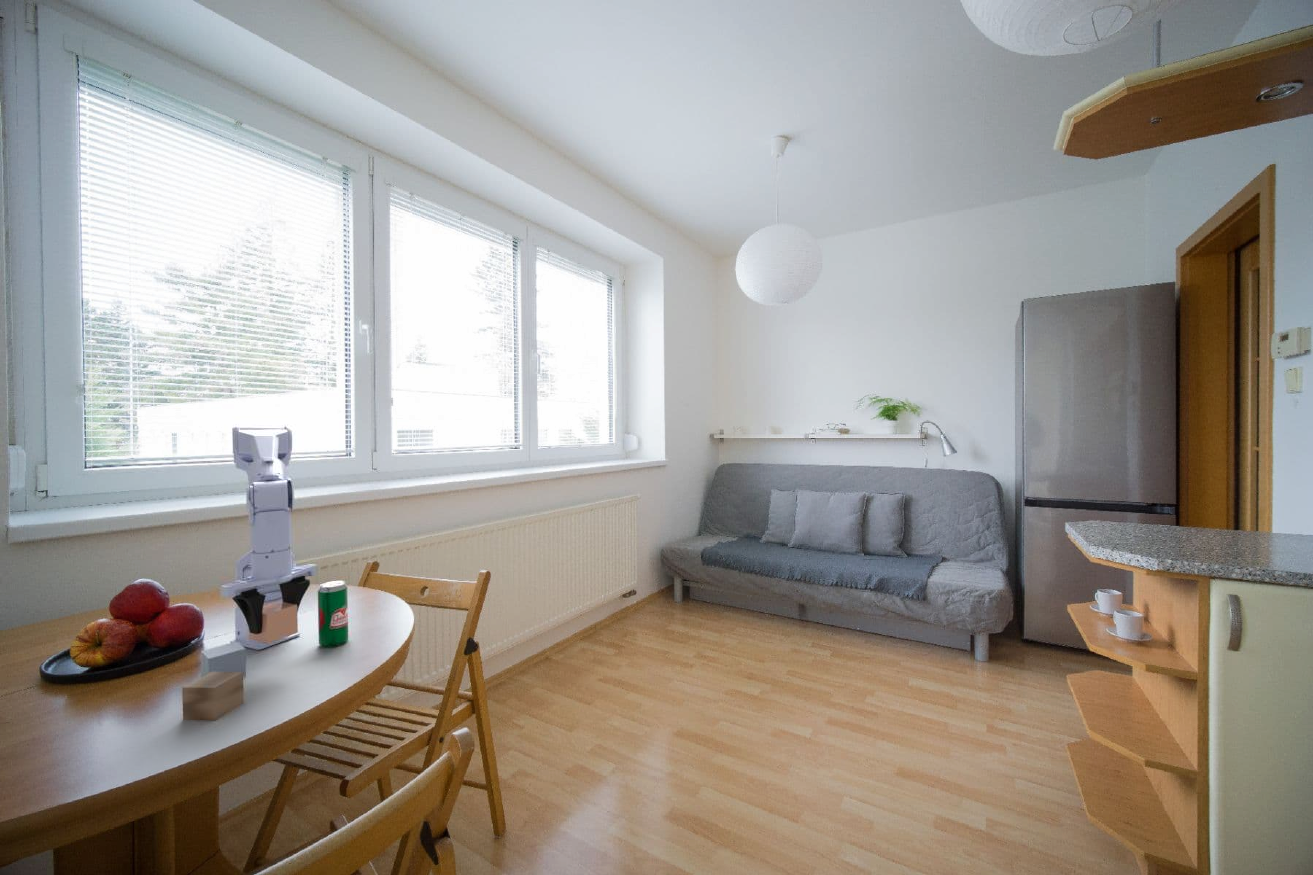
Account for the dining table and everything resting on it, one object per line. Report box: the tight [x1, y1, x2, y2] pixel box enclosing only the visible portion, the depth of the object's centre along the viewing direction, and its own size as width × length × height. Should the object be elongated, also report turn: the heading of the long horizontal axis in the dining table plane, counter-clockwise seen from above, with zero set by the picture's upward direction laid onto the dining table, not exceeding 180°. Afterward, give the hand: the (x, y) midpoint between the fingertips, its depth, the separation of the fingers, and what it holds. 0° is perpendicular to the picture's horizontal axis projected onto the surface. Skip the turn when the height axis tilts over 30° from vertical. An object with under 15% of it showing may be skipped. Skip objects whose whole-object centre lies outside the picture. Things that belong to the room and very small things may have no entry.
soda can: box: [317, 580, 349, 648], centre depth 104 cm, size 5×5×12 cm
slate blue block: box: [200, 642, 247, 678], centre depth 90 cm, size 5×5×5 cm
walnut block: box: [181, 671, 245, 722], centre depth 79 cm, size 5×5×5 cm
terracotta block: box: [249, 601, 299, 644], centre depth 91 cm, size 5×5×5 cm
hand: (273, 626), depth 91 cm, fingers closed on terracotta block, 5 cm apart
